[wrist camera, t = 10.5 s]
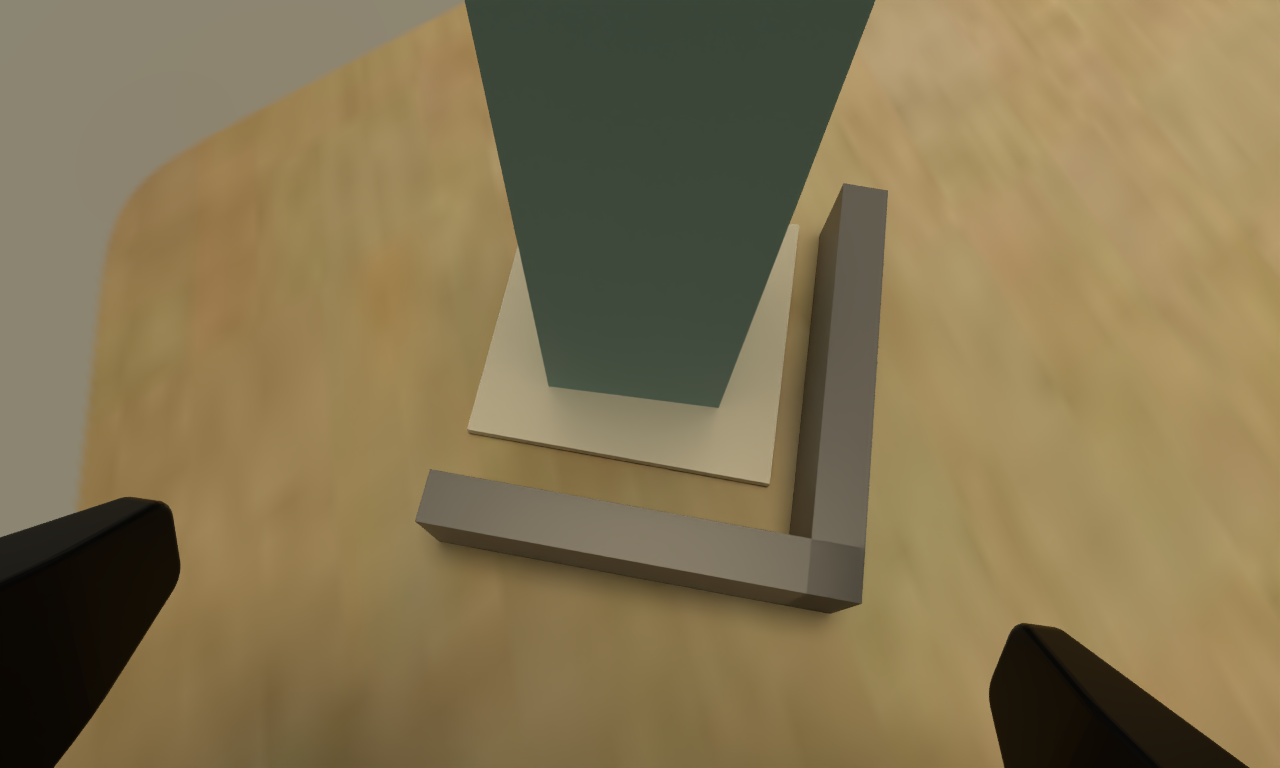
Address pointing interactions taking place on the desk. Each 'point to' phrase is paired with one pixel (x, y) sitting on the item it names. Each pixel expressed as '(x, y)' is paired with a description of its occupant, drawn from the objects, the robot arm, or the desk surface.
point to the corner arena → (698, 442)
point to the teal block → (656, 171)
